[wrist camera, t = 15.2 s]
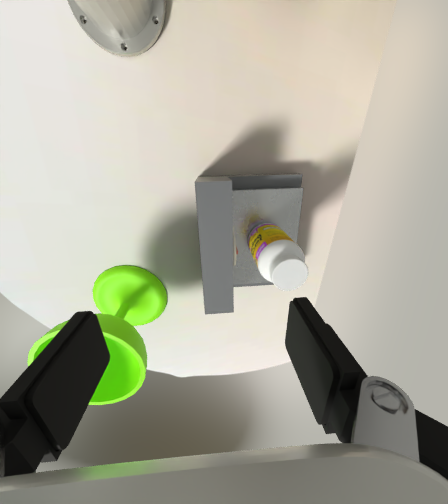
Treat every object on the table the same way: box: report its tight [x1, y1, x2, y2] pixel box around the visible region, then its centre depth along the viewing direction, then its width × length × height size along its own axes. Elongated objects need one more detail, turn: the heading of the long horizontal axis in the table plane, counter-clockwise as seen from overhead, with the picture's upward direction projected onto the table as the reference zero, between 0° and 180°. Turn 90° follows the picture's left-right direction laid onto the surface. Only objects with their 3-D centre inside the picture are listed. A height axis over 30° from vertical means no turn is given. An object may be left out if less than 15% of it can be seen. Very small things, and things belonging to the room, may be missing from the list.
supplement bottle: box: [248, 223, 308, 291], centre depth 32 cm, size 7×7×13 cm
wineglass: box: [28, 265, 167, 405], centre depth 39 cm, size 16×16×18 cm
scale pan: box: [232, 187, 303, 285], centre depth 39 cm, size 18×12×1 cm, turn 2°
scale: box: [195, 173, 302, 314], centre depth 38 cm, size 22×18×11 cm
